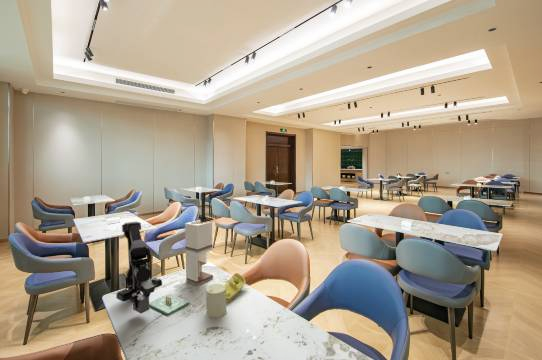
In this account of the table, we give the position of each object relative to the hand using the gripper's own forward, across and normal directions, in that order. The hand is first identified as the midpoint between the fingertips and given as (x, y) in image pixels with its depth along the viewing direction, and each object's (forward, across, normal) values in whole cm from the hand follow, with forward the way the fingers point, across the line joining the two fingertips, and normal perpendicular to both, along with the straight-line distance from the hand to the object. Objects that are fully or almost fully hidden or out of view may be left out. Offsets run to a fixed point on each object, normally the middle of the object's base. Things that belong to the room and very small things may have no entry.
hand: (141, 306), depth 121 cm
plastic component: (+5, +38, -20) cm, 43 cm away
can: (+5, +21, -27) cm, 35 cm away
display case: (+5, +41, +7) cm, 42 cm away
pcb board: (+4, +13, -2) cm, 14 cm away
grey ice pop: (+1, 0, +2) cm, 2 cm away
